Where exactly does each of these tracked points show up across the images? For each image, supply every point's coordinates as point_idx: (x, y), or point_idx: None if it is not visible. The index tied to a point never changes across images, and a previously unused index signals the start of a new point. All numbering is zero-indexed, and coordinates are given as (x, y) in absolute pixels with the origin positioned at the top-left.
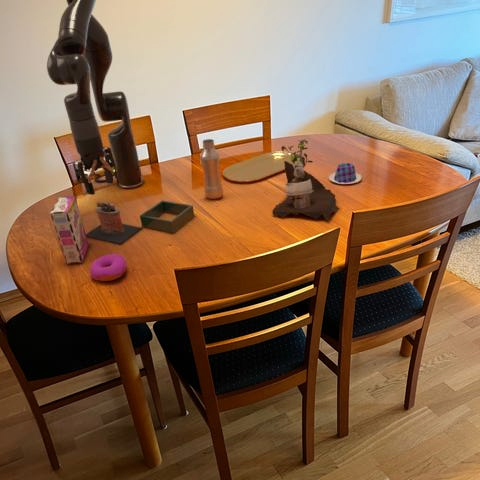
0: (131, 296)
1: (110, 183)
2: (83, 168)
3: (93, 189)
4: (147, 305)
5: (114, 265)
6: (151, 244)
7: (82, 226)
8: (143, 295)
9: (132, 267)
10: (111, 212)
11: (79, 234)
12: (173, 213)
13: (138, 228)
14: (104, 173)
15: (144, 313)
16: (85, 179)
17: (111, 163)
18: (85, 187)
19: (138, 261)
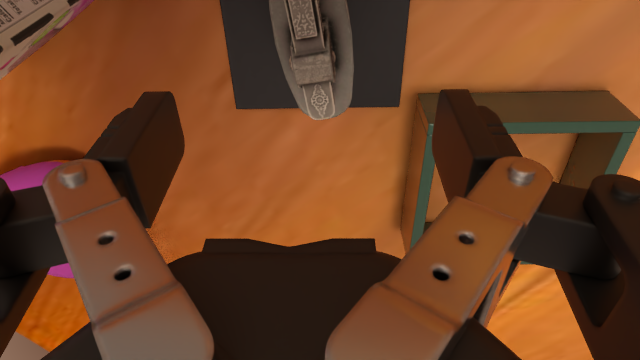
0: (53, 298)
1: (433, 129)
2: (76, 272)
3: (168, 176)
4: (62, 336)
5: (51, 271)
6: (298, 207)
7: (75, 8)
8: (79, 315)
9: (148, 233)
10: (297, 87)
11: (4, 75)
12: (574, 148)
13: (389, 97)
14: (468, 143)
15: (39, 343)
16: (35, 283)
17: (572, 290)
18: (95, 145)
19: (186, 229)
